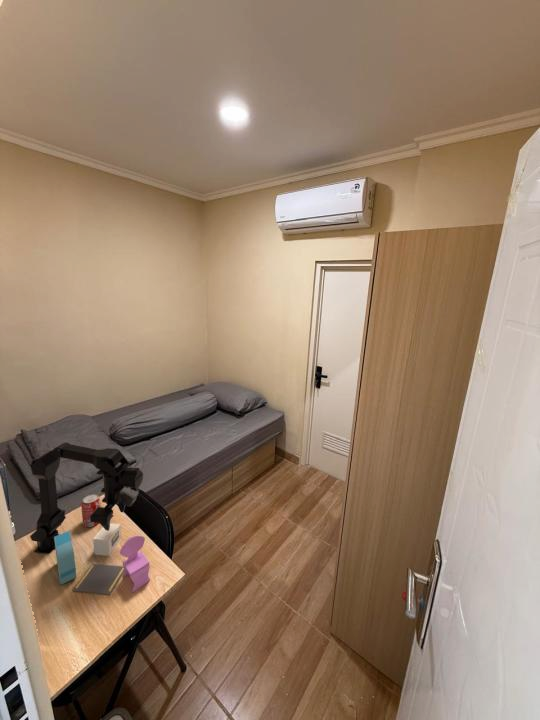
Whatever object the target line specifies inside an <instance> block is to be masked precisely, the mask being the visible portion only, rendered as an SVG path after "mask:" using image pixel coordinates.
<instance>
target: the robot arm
mask: <svg viewBox="0 0 540 720" xmlns="http://www.w3.org/2000/svg"><path fill="white" fill-rule="evenodd" d="M61 458H62V459H66V460H71V461H77V462H82V463H87V464H91V465H93V466H94V468H96V469H97V470H98V471H97V472H96V474H97V475H102V479H103V480H102V481H103V487H102V488H101V490H100V492H101V493H103V494H104V497H103V498H102V499H101V503H105V504H106V505H105V506H101V507H98V508H97V509H96V510H95V511H94V512H93V513H92V514H91V515H90V522H98V524H100V525H101V527H103V528H104V529H105V530H107V531H109V529H110V523H111V519H112V518H113V517H114V509H113V508H115V506H116V505H117V507H118V510H119V511H120V513H124V511H125V508H126V507H132V506H133V504H134V503H135V502H136V500H137V497H138V495H139V494H140V489H139V488H140V486H141V484H142V482H143V478H144V473H143V471H142V470H141V469H140V467H129V466H130V464H131V463H130V461H128V459H127V458H126V457H125V456H124V454H123V452H121V450H120V449H118V448H109V447H108V448H102V449H95V448H90V447H85V446H80V445H76V444H75V445H74V444H71V443H70V442H62V443H60V444H59V445H57V446H55V447H54V448H53V449H52V450H47V451H46V452H44V453H43V454H41V455H39V456H38V457H36V458H35V459H32V461H31V462H30V469H31V474H32V475H33V476H34V477H35V478H37V479H38V489H39V501H40V515H39V516H38V519H37V522H36V530H35V531H34V532H32V533H31V535H30V536H29V538H30V539H31V541H33V542H36V544H37V547H36V548H35V549H34V551H33V553H35V554H36V553H37V554H51V553H52V552H53V551H55V550H56V549H55V541H54V537H55V536H57V535H60V534H59V530H58V528H59V527H61V526H62V523H64V522H65V519H67V517H66V510H65V509H61V508H60V507H58V494H57V482H56V481H57V480H56V474H57V471H58V469H59V468H60V463H61ZM118 465H119V466H118ZM117 466H118V467H117Z"/></svg>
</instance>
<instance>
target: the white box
mask: <svg viewBox="0 0 540 720" xmlns="http://www.w3.org/2000/svg"><path fill="white" fill-rule="evenodd" d="M92 541H93V542H92V543H93V553H94V555H96V556H97V555H98V556H105V557H107V556H108V557H111V554H112V553H113V552H114V550H115V549H116V547H117V546H118V545H119V543H120V541H122V525H121V523H111V522H110V529H109V531H107V530H105V529H104V528H103V526H101V529H100V530H99V531H98V532H97V534H95V536H94V537H93V538H92Z"/></svg>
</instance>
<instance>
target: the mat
mask: <svg viewBox="0 0 540 720" xmlns="http://www.w3.org/2000/svg"><path fill="white" fill-rule="evenodd" d="M124 571H125V567H124V566H123V565H111V564H102V563H93V562H92V563H91V565H90V566H89V567H88V569H87V570H86V571H85V572H84V574H83V575H82V577H81V578H80V580H79V581H78V582H77V584H76V585H75V586H74V587H73V589H72V591H71V592H76V593H77V592H78V593H84V594H95V595H96V594H97V595H107V596H110V595H111V594H112V593H113V591H114V589H115V588H116V586H117V585H118V583H119V581H120V579H121V578H122V577H123V574H124Z"/></svg>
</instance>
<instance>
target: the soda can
mask: <svg viewBox="0 0 540 720" xmlns="http://www.w3.org/2000/svg"><path fill="white" fill-rule="evenodd" d="M101 503H102V500H101V498H100V497H99V495H98V494H97V493H92V494H89V495H86V496H85V497H84V498H83V499H82V502H81V507H80V508H81V516H82V523H83V526H84V527H85V528H92V527H95V526H97V525H98V524H99V523H98V522H90V515H91V514H92V513H93V512H94V511H95V510H96V509H97V508H98V507H102V504H101Z"/></svg>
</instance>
